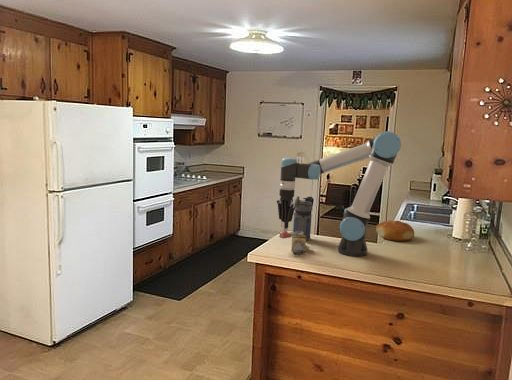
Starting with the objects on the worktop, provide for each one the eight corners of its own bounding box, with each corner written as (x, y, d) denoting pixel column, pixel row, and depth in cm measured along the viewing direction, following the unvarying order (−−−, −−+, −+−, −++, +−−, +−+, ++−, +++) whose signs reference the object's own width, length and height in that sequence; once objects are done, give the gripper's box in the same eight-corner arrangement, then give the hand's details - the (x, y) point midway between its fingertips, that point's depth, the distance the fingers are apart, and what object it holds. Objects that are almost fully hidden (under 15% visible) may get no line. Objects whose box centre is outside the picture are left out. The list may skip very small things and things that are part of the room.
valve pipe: (292, 245, 228) (293, 231, 227) (305, 246, 227) (306, 232, 226) (290, 255, 210) (291, 239, 209) (304, 256, 209) (305, 240, 208)
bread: (368, 237, 253) (369, 220, 251) (384, 231, 271) (385, 216, 269) (405, 244, 238) (406, 227, 237) (419, 238, 256) (421, 222, 255)
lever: (299, 234, 220) (299, 230, 220) (304, 235, 217) (304, 232, 217) (278, 236, 212) (278, 232, 212) (283, 238, 209) (283, 234, 209)
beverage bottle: (316, 239, 241) (319, 196, 238) (300, 242, 233) (303, 198, 229) (303, 235, 249) (306, 194, 245) (287, 238, 240) (290, 195, 237)
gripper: (273, 187, 213) (270, 231, 217) (289, 191, 203) (286, 238, 207) (284, 186, 218) (282, 230, 221) (301, 190, 207) (298, 236, 211)
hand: (284, 233), depth 214 cm, fingers closed
